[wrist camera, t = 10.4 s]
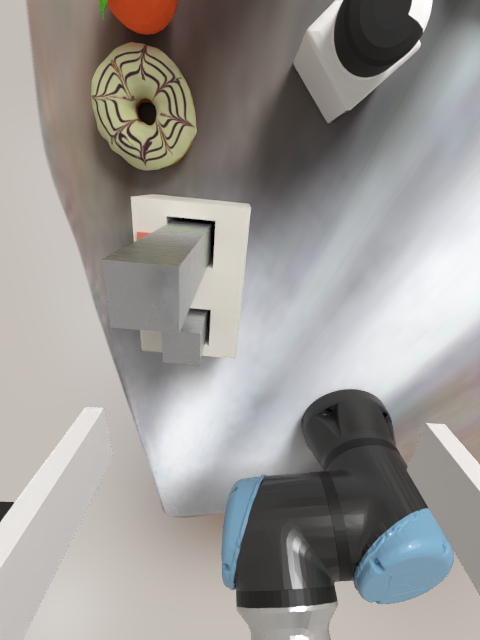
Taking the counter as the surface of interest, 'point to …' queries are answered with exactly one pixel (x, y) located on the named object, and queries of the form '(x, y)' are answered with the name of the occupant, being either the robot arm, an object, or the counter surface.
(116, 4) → the clementine
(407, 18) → the medicine bottle
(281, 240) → the counter surface
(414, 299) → the counter surface
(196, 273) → the upper square grey bar
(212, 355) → the housing
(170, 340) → the grey square peg
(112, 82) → the decorated donut
